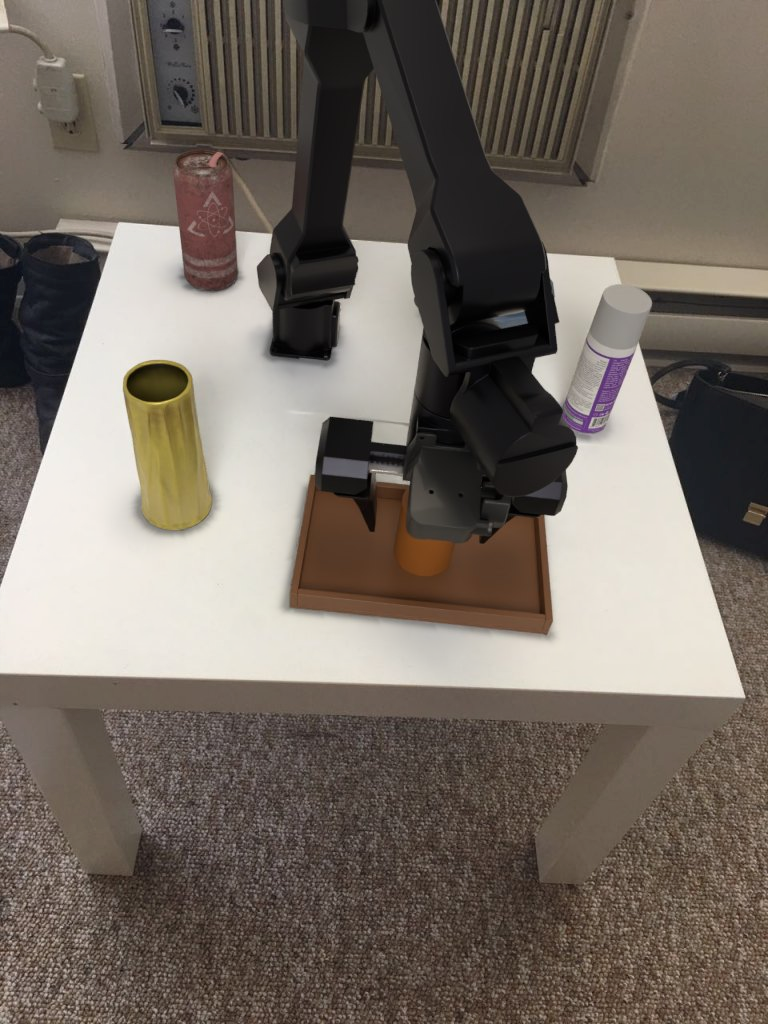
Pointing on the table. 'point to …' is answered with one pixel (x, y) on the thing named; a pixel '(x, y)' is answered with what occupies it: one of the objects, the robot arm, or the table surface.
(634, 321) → the container
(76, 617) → the table surface
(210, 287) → the can
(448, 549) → the bottle
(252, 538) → the table surface
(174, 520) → the vase
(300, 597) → the tray
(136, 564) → the table surface
